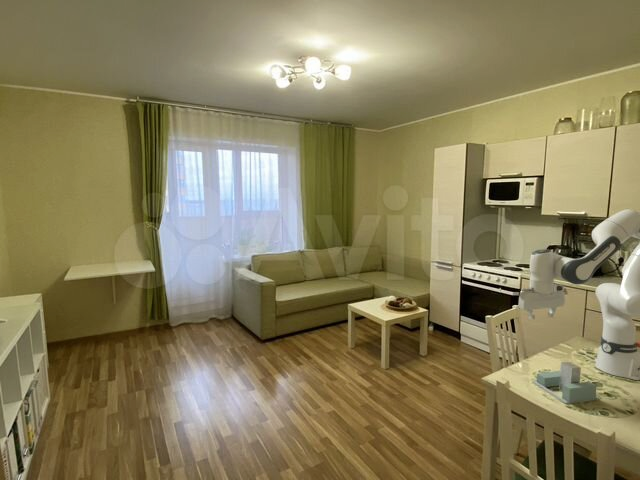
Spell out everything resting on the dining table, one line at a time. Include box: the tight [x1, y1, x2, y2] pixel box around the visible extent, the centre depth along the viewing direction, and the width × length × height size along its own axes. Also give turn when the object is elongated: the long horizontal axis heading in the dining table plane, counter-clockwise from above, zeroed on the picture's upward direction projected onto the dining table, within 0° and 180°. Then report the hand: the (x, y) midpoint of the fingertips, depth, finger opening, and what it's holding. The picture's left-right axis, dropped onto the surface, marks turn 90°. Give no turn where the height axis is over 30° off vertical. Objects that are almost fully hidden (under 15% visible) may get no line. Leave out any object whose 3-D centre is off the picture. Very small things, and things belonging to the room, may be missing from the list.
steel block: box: [558, 361, 582, 394], centre depth 136 cm, size 4×5×12 cm
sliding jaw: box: [536, 370, 560, 388], centre depth 144 cm, size 12×4×4 cm, turn 100°
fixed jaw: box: [532, 380, 600, 405], centre depth 139 cm, size 15×16×6 cm
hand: (541, 317), depth 149 cm, fingers open, 8 cm apart
